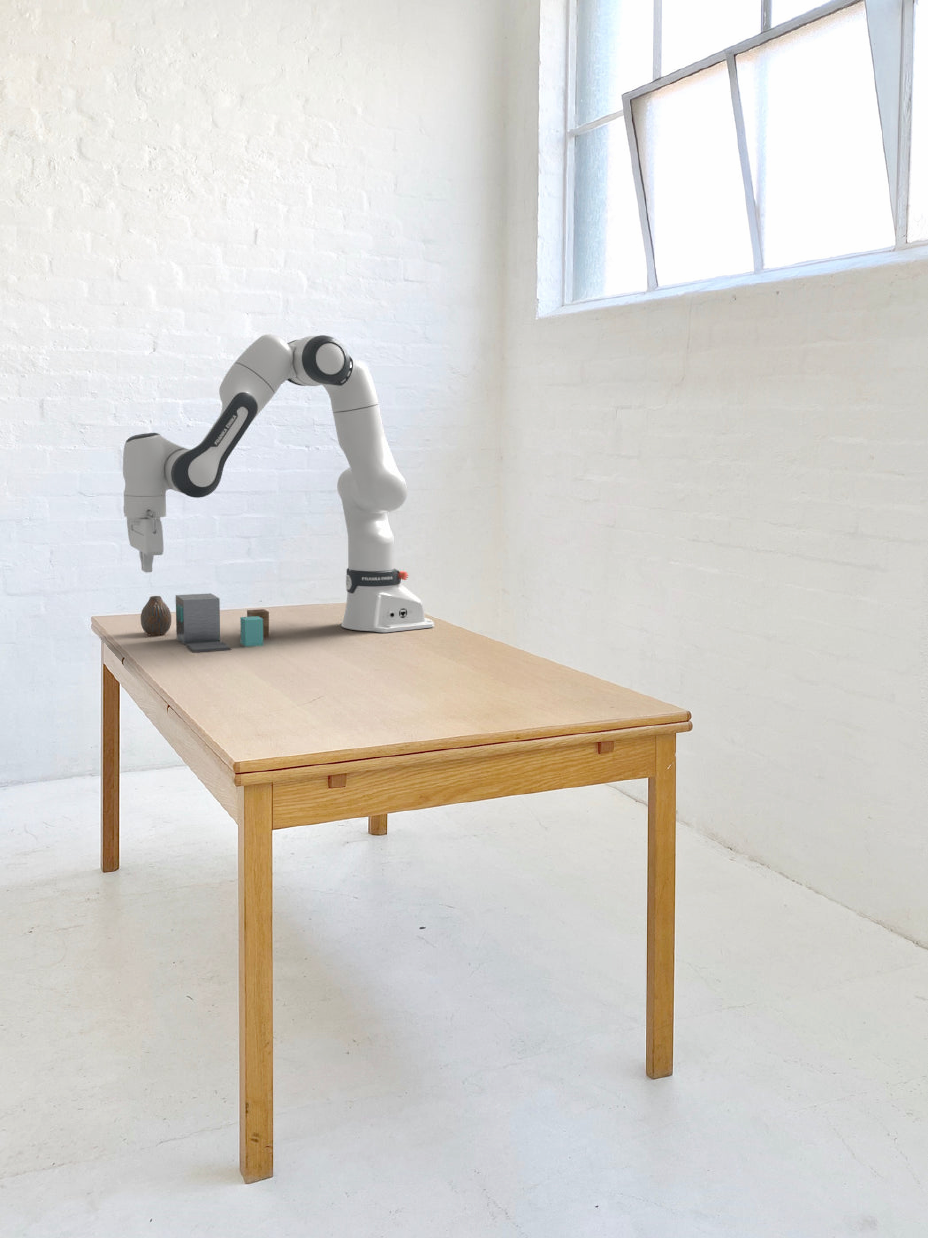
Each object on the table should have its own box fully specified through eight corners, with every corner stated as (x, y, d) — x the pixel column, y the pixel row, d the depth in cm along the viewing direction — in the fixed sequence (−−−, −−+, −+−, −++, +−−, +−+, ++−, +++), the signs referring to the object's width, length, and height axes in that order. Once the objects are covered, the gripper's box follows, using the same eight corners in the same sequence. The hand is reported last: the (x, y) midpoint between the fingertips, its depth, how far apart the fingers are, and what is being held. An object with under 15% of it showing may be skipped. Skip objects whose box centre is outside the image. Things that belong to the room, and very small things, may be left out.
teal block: (258, 642, 269) (257, 616, 268) (263, 645, 265) (263, 618, 264) (240, 643, 267) (240, 617, 266) (245, 646, 263) (245, 620, 262)
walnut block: (264, 634, 278) (263, 609, 277) (269, 637, 275) (268, 611, 274) (247, 635, 277) (247, 610, 276) (252, 638, 273) (251, 612, 272)
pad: (222, 644, 266) (222, 641, 266) (230, 649, 259) (230, 647, 259) (186, 646, 262) (186, 643, 262) (193, 652, 256) (193, 649, 256)
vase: (167, 637, 273) (166, 599, 272) (137, 636, 273) (136, 598, 272) (175, 631, 280) (174, 594, 278) (145, 631, 280) (144, 594, 278)
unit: (212, 636, 275) (211, 593, 273) (221, 642, 267) (220, 598, 266) (175, 638, 271) (174, 595, 269) (183, 645, 264) (182, 600, 262)
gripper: (169, 511, 252) (171, 577, 254) (150, 504, 270) (152, 565, 272) (139, 512, 249) (141, 578, 251) (122, 505, 267) (123, 566, 269)
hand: (146, 571), depth 262 cm, fingers closed
